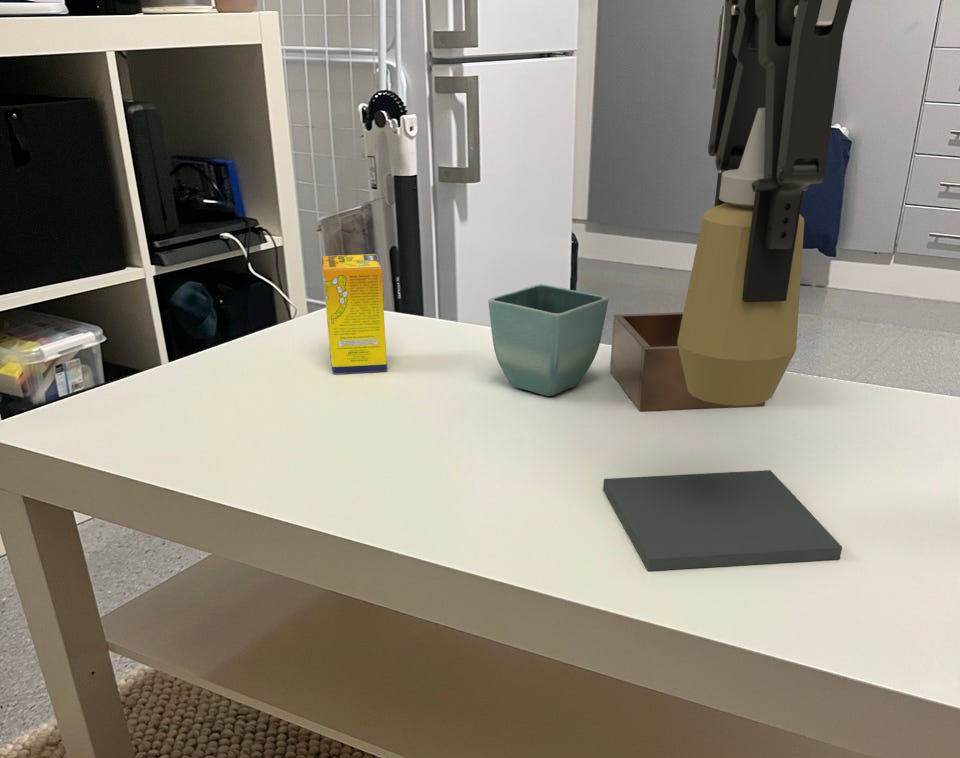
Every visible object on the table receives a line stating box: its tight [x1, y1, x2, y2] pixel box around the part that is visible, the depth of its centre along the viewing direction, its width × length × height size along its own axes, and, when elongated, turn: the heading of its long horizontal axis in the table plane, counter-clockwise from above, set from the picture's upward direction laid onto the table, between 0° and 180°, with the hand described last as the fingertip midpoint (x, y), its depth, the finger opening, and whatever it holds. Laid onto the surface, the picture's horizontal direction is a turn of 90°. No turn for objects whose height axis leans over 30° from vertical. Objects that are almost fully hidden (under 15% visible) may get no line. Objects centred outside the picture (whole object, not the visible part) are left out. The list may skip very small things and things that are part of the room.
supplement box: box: [321, 253, 388, 375], centre depth 107 cm, size 6×6×11 cm
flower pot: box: [487, 283, 610, 397], centre depth 102 cm, size 9×9×9 cm
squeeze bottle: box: [677, 108, 805, 406], centre depth 67 cm, size 8×8×18 cm
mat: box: [602, 469, 843, 572], centre depth 77 cm, size 14×14×1 cm
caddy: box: [609, 311, 766, 412], centre depth 102 cm, size 13×13×6 cm
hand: (744, 286), depth 68 cm, fingers closed on squeeze bottle, 6 cm apart
